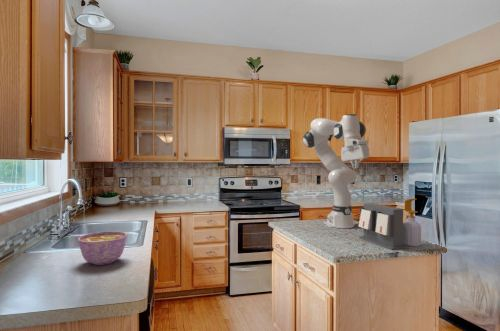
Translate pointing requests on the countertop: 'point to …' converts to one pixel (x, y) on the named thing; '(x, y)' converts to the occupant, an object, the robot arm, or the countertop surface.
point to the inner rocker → (365, 219)
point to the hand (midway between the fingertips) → (355, 168)
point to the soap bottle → (411, 227)
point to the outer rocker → (382, 224)
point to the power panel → (395, 227)
